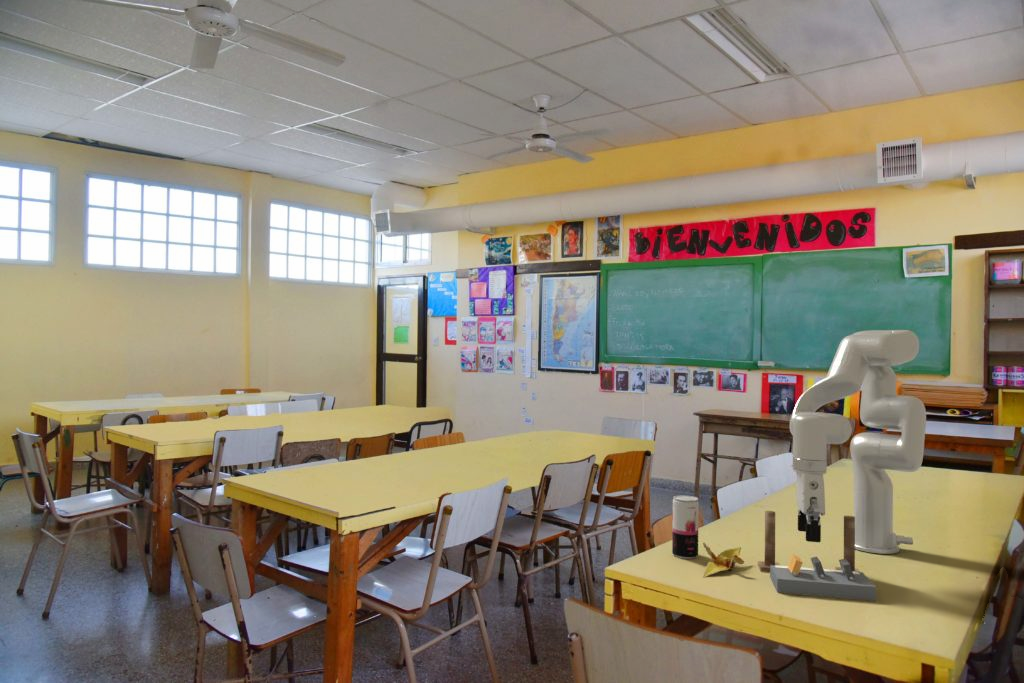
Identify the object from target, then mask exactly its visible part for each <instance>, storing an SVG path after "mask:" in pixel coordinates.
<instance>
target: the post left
mask: <svg viewBox="0 0 1024 683" xmlns="http://www.w3.org/2000/svg"><path fill="white" fill-rule="evenodd" d="M770 565H778V566H782V565H781V564H780V562H777V561H776V511H774V510H765V511H764V561H762V560H758V561H757V567H758V569H759V571H760V572H764V573H765V572H766V573H770Z"/></svg>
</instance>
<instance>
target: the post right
mask: <svg viewBox="0 0 1024 683" xmlns="http://www.w3.org/2000/svg"><path fill="white" fill-rule="evenodd" d="M843 559H846V560H847V561H848V562H849V564H850V566H851V569H852V571H855V572H861V571H860V569H858V568H856V565H855V564H856V549H855V517H854V515H843ZM834 570H842V568H841V566H834Z"/></svg>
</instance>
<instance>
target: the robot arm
mask: <svg viewBox="0 0 1024 683" xmlns="http://www.w3.org/2000/svg"><path fill="white" fill-rule="evenodd" d="M919 349H920V340H919V337H918V336H917V334H915V332H913V331H911V330H909V329H893V330H892V329H885V330H884V329H879V330H878V329H876V330H875V329H874V330H862V331H857V332H854V333H852V334H850V335H847V336H845V337H843V338H842V339H841V341H840V343H839V345H838V347H837V350H836V352H835V355H834V356H833V360H832V362H831V364H830V366H829V369H828V372H827V373H826V376H825V377H824V378H822V379H821V380H819V381H817V382H816V383H814V384H813V385H812V386H810V387H809V388H808V389H806V390H805V391H804V392H803V393H802V394H801V395H800V396H799V398H798V400H797V401H796V403H795V406H794V409H793V410H792V413H791V416H790V420H789V432H790V433H791V435H792V472H795V473H796V507H797V509H798V510H797V513H798V514H797V530H798V532H805V540H806V542H810V543H821V540H822V539H821V538H822V532H821V531H822V528H821V527H822V526H821V525H822V524H821V516H822V517H824V516H825V515H826V497H825V496H826V495H825V491H826V490H825V480H824V479H825V478H824V475H825V474H827V457H828V456H827V454H828V453H827V451H828V450H827V447H828V446H827V444H828V445H829V444H830V445H841V444H844V443H845V442H847V441H848V440H849V439H850V438H851V435H852V432H853V428H852V427H853V426H852V424H851V421H850V420H849V419H848V418H847V417H846V416H845V415H842V414H840V413H839V414H837V413H828V412H819V411H817V410H818V409H820V408H821V407H823V406H824V405H827V404H830V403H833V402H835V401H839V400H843V399H845V398H848V397H851V396H853V395H856V394H857V393H858V392H859V391H860V390H861V397H860V408H859V418H860V421H861V423H862V424H863V425H864V426H865V427H869V428H874V429H881V430H892V431H900V432H901V434H900V435H898V434H889V433H882V432H881V433H879V432H860V433H857V434H856V435H854V436H853V437H852V439H851V440H850V445H849V449H850V456H851V462H852V468H853V517H855V550H858V551H861V552H865V553H871V554H881V555H882V554H883V555H888V554H889V555H892V554H897V553H899V552H900V545H901V544H902V545H903V544H904V545H914V538H913V537H911V536H904V535H897V534H896V533H895V532H894V484H893V481H892V480H891V477H890V476H889V474H888V473H887V472H886V470H888V471H895V472H896V471H897V472H906V473H913V472H917V471H918V470H919V469H920V468H921V467H922V465H923V464H922V463H923V458H924V453H925V452H924V451H925V436H926V428H927V427H926V426H927V425H926V424H927V412H926V407H925V404H924V402H923V401H922V400H921V399H920V398H918V397H916V396H913V395H900V394H899V395H898V393H897V390H898V377H897V375H896V373H895V371H894V369H893V368H892V367H895V366H899V365H903V364H905V363H909V362H911V361H913V360H914V359H915V358H916V357H917V355H918V354H919V351H920V350H919Z"/></svg>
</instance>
